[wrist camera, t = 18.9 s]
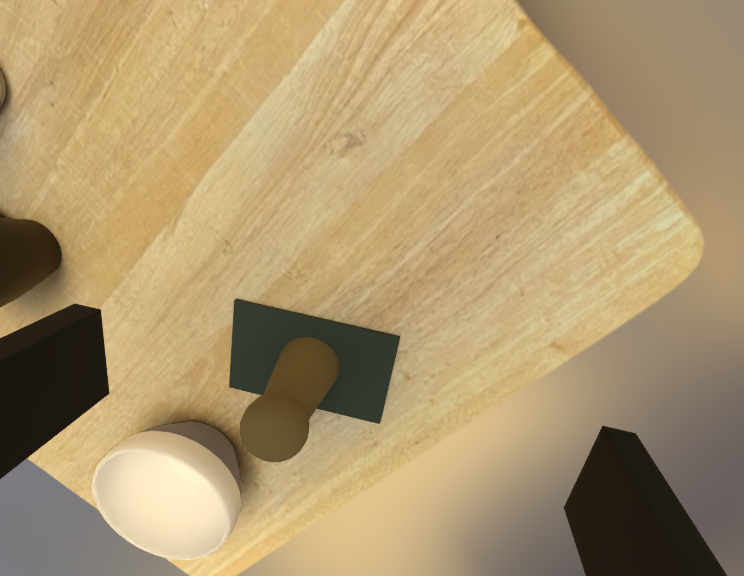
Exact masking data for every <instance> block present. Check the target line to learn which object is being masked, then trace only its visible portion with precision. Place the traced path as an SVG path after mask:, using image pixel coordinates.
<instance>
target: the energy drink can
mask: <svg viewBox="0 0 744 576" xmlns="http://www.w3.org/2000/svg"><path fill="white" fill-rule="evenodd" d="M5 95H6V85H5V80H4V77H3V74H2V72H1V70H0V106H1V105H2V104H3V102H4V99H5Z"/></svg>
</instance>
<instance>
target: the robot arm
mask: <svg viewBox="0 0 744 576" xmlns="http://www.w3.org/2000/svg"><path fill="white" fill-rule="evenodd" d="M108 394H109V386H108V377H107V367H106V357H105V347H104V337H103V327H102V317H101V310H100V309H96V308H92V307H87V306H83V305H79V304H73V305H71V306H69V307H66V308H64V309H62V310H60V311H58V312H56V313H54V314H51V315H49V316H47V317H45V318H43V319H41V320H38V321H36V322H34V323H32V324H30V325H28V326H26V327H23V328H21V329H19V330H17V331H15V332H13V333H11V334H8V335H6V336H4V337H2V338H0V479H1V478H2V477H3V476H5V475H6V474H7V473H8V472H10V471H11V470H12V469H14V468H15V467H16V466H17V465H19V464H20V463H21V462H23V461H24V460H25V459H26V458H28V457H29V456H30V455H32V454H33V453H34V452H35V451H37V450H38V449H39V448H40V447H42V446H43V445H44V444H46V443H47V442H48V441H49V440H51V439H52V438H53V437H54V436H56V435H57V434H58V433H60V432H61V431H62V430H63V429H65V428H66V427H67V426H68V425H70V424H71V423H72V422H74V421H75V420H76V419H77V418H79V417H80V416H81V415H83V414H84V413H85V412H86V411H88V410H89V409H90V408H91V407H93V406H94V405H95V404H97V403H98V402H99V401H100V400H102V399H103V398H104V397H105V396H107V395H108ZM564 509H565V513H566V516H567V518H568V522H569V525H570V528H571V531H572V534H573V537H574V540H575V543H576V547H577V550H578V553H579V556H580V559H581V562H582V565H583V568H584V571H585V574H586V576H727V575H726V573H725V572H724V570H723V569H722V567H721V566H720V564H719V563H718V561H717V559H716V558H715V556H714V555H713V553H712V552H711V550H710V548H709V547H708V545H707V544H706V542H705V541H704V539H703V538H702V536H701V535H700V533H699V532H698V530H697V528H696V527H695V525H694V524H693V522H692V520H691V519H690V517H689V516H688V514H687V513H686V511H685V510H684V508H683V506H682V505H681V503H680V502H679V500H678V499H677V497H676V496H675V494H674V493H673V491H672V489H671V488H670V486H669V485H668V483H667V481H666V480H665V478H664V477H663V475H662V474H661V472H660V471H659V470H658V467H657V466H656V465H655V463H654V461H653V460H652V458H651V457H650V455H649V454H648V452H647V451H646V449H645V447H644V446H643V444H642V443H641V441H640V439H639V438H638V436H637V435H636V433H632V432H627V431H623V430H619V429H614V428H610V427H606V426H602V428H601V430H600V432H599V435H598V437H597V439H596V441H595V443H594V445H593V447H592V449H591V451H590V454H589V456H588V458H587V460H586V462H585V464H584V466H583V468H582V470H581V472H580V475H579V477H578V479H577V481H576V483H575V485H574V487H573V489H572V491H571V494H570V496H569V498H568V500H567V502H566V505H565V506H564Z"/></svg>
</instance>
